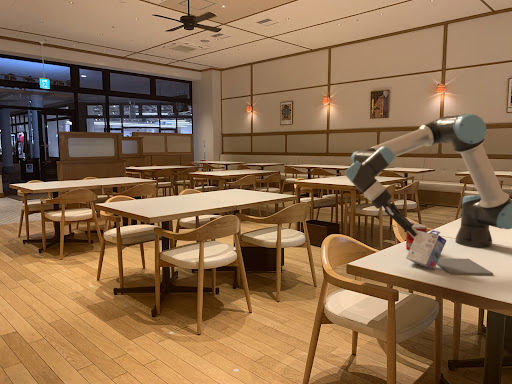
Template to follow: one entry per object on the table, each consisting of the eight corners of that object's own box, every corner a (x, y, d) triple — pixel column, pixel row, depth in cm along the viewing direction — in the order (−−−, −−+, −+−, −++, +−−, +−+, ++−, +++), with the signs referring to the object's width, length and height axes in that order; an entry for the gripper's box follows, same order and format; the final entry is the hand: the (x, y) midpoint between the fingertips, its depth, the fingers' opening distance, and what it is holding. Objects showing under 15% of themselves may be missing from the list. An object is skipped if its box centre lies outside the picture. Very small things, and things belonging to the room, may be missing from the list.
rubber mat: (468, 260, 158) (468, 258, 158) (493, 275, 140) (493, 273, 140) (430, 259, 159) (430, 258, 159) (450, 274, 141) (450, 272, 141)
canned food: (427, 252, 170) (428, 227, 168) (407, 251, 171) (408, 226, 170) (423, 248, 177) (424, 224, 176) (404, 247, 179) (405, 223, 177)
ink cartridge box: (435, 270, 146) (449, 234, 148) (426, 265, 144) (441, 229, 145) (413, 263, 155) (427, 229, 156) (405, 258, 152) (419, 224, 154)
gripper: (372, 199, 160) (414, 243, 155) (368, 204, 148) (413, 252, 143) (386, 187, 157) (430, 231, 152) (383, 190, 145) (430, 239, 141)
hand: (422, 241), depth 148 cm, fingers closed
